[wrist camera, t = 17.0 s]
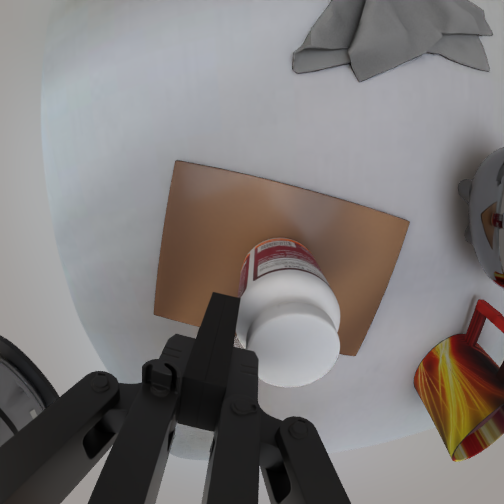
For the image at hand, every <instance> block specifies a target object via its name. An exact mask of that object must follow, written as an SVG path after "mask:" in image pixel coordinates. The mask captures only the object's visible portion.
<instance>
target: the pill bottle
mask: <svg viewBox="0 0 504 504" xmlns="http://www.w3.org/2000/svg"><path fill="white" fill-rule="evenodd" d="M237 297H238V298H241V300H240V306H239V312H238V319H237V325H236V334H237V337H238V339H239V341H240V343H241V345H242V346H243V347H244V349H246V350H251V351H254V352H255V353H256V355H257V357H258V359H259V366H258V378H259V379H261V380H262V381H264V382H266V383H268V384H271V385H274V386H279V387H299V386H304V385H307V384H310V383H313V382H315V381H317V380H318V379H320V378H321V377H323V376H324V375H326V374H327V373H328V372H329V371H330V370H331V368H332V367H333V366H334V364H335V363H336V361H337V359H338V356H339V352H340V340H339V336H338V334H337V332H338V329H339V325H340V308H339V304H338V301H337V299H336V297H335V295H334V293H333V291H332V289H331V287H330V286H329V284H328V282H327V280H326V278H325V277H324V275H323V273H322V271H321V269H320V268H319V266H318V264H317V262H316V260H315V258H314V257H313V255H312V254H311V253H310V251H309V250H308V249H307V248H306V247H305V246H303V245H302V244H301V243H299V242H297V241H294V240H292V239H287V238H273V239H268V240H265V241H263V242H261V243H259V244H258V245H256V246H255V247H254V248H253V249H252V250H251V251H250V252H249V253H248V255H247V256H246V258H245V260H244V262H243V265H242V269H241V274H240V282H239V289H238V296H237Z"/></svg>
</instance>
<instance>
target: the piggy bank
mask: <svg viewBox="0 0 504 504" xmlns="http://www.w3.org/2000/svg"><path fill="white" fill-rule="evenodd" d="M458 191H459V195H460V196H461V197H462V198H463V199H464V200H465V201H466V202H467V203H468V204H469V223H470V226H468V227H467V228H466V230H465V239H466V241H467V242H468V243H470V244H472V245H473V246H474V250H475V253H476V256H477V258H478V260H479V263H480V265H481V266H482V268H483V270H484V271H485V273H486V274H487V276H488V277H489V278H490V279H491V280H492V281H493V282H494V283H495V284H496V285H498V286H499V287H501V288H503V290H504V147H502V148H500V149H498V150H496V151H494V152H493V153H491V154H490V155H489V156H488V157H487V158H486V159H485V160H484V161H483V162H482V163H481V165H480V166H479V168H478V169H477V171H476V173H475V175H474V178H473V179H472V180H468V179H464V180H462V181H461V182H460V183H459V186H458Z"/></svg>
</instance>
